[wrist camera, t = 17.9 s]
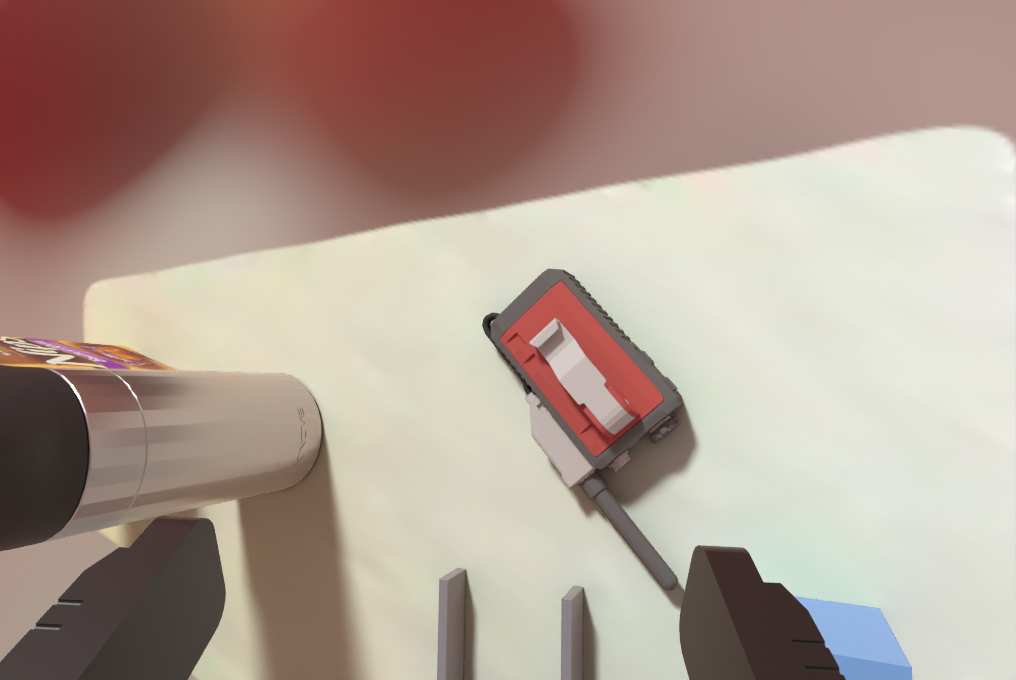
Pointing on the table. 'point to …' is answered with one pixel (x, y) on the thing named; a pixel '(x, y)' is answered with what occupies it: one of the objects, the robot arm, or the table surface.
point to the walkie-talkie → (585, 392)
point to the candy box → (71, 355)
